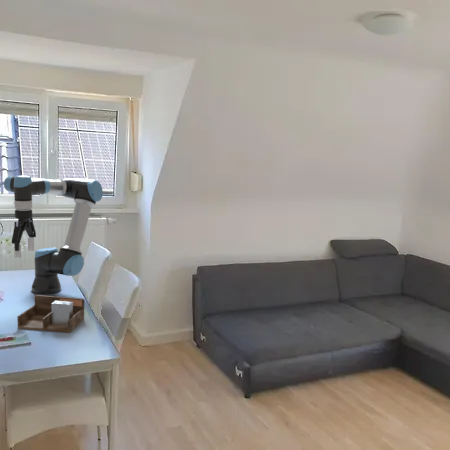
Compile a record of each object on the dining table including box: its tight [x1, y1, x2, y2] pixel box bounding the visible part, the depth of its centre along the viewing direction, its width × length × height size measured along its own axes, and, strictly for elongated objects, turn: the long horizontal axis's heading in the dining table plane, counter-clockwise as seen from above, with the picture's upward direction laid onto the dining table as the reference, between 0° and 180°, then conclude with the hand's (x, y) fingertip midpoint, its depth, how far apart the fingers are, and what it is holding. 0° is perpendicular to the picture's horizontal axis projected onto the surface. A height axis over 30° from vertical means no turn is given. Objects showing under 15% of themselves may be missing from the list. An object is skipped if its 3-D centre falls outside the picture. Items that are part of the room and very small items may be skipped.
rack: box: [16, 294, 85, 334], centre depth 220 cm, size 17×23×10 cm
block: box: [52, 301, 73, 326], centre depth 217 cm, size 4×8×10 cm, turn 85°
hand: (24, 253), depth 231 cm, fingers open, 13 cm apart
